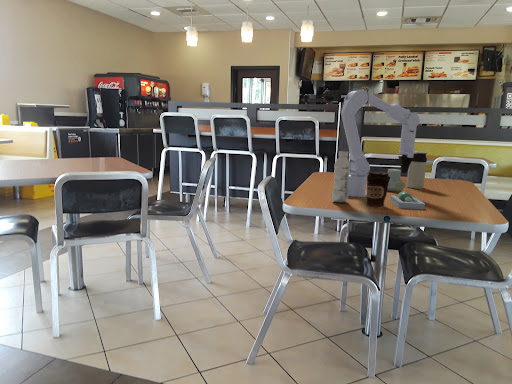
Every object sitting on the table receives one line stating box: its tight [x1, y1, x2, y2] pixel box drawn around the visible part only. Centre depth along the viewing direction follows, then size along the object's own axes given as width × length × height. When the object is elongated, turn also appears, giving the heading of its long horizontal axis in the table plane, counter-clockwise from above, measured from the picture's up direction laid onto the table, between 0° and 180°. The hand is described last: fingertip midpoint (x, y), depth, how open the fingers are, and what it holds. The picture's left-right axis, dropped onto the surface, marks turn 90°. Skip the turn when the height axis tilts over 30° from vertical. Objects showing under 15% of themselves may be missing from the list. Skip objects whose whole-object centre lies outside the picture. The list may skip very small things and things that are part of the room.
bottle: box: [397, 190, 413, 202], centre depth 156 cm, size 4×4×9 cm
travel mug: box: [405, 150, 428, 190], centre depth 197 cm, size 8×8×18 cm
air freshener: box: [386, 168, 406, 193], centre depth 186 cm, size 11×8×10 cm
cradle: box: [389, 194, 426, 210], centre depth 155 cm, size 9×14×2 cm
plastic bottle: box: [331, 150, 351, 203], centre depth 154 cm, size 6×7×20 cm
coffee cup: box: [366, 171, 390, 208], centre depth 150 cm, size 9×8×13 cm
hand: (404, 172), depth 172 cm, fingers closed
